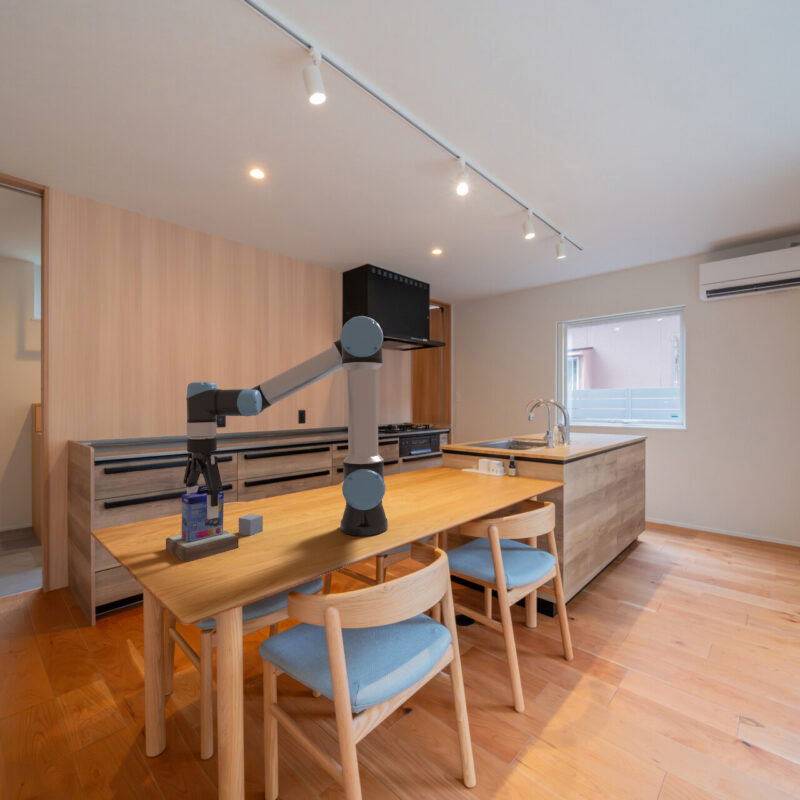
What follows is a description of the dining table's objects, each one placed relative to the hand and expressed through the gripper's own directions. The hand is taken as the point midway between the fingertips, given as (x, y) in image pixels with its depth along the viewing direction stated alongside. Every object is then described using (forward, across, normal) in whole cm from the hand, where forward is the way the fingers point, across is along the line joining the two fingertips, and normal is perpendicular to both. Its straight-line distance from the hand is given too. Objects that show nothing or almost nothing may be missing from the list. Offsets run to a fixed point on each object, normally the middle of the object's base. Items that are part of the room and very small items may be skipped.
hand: (202, 513), depth 114 cm
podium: (+10, 0, 0) cm, 10 cm away
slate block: (+10, +3, -16) cm, 19 cm away
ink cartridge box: (+7, 0, 0) cm, 7 cm away
